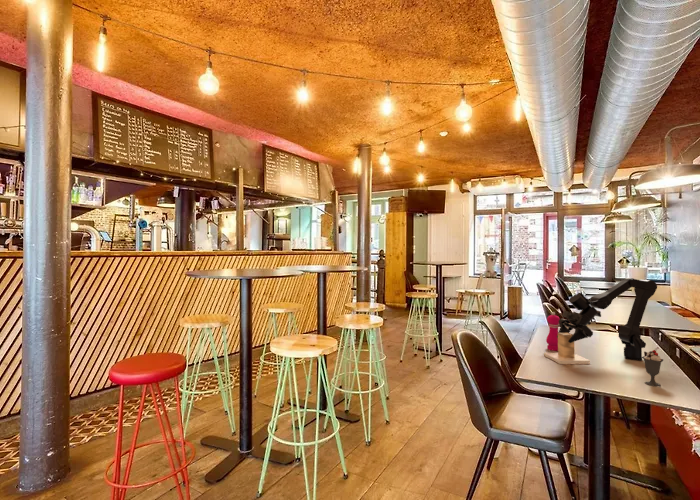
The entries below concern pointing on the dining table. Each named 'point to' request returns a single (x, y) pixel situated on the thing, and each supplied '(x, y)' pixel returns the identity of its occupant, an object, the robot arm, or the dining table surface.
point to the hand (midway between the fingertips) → (563, 339)
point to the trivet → (567, 359)
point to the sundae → (652, 365)
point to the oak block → (565, 345)
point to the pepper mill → (553, 332)
